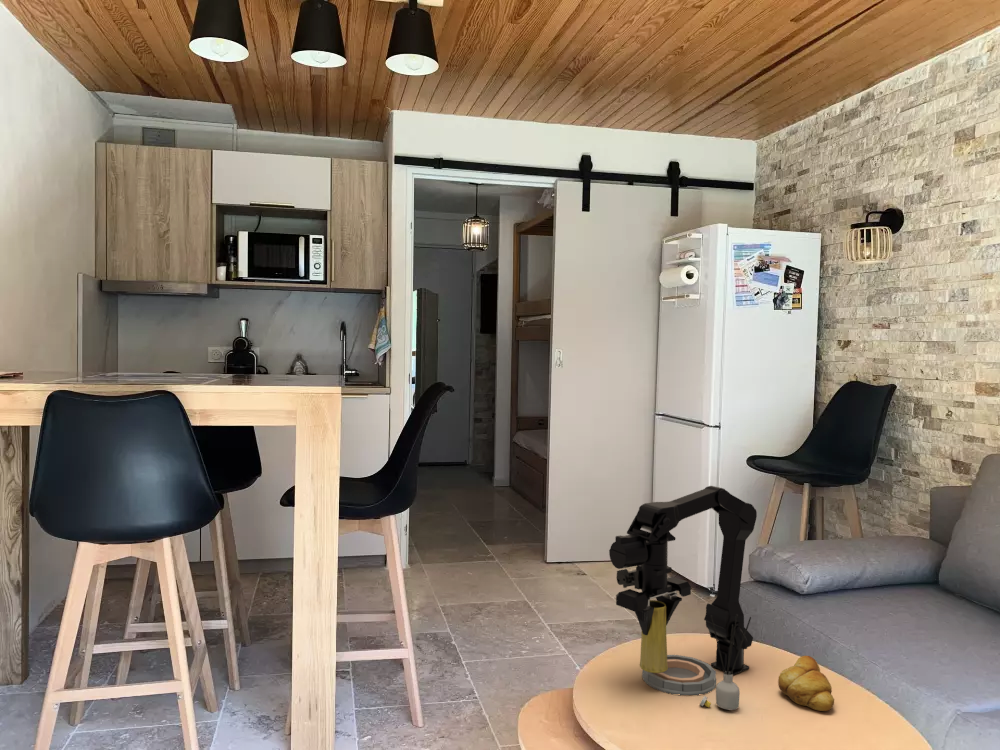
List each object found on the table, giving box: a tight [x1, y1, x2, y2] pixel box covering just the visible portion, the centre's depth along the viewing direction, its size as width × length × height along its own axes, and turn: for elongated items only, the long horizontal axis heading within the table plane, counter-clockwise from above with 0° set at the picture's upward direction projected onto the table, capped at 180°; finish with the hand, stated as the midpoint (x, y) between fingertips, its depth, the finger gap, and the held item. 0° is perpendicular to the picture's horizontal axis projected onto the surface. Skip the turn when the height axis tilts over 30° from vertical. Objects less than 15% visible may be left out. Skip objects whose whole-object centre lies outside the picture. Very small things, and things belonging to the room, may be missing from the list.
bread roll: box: [777, 655, 835, 712], centre depth 159 cm, size 13×10×8 cm
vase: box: [639, 599, 668, 673], centre depth 164 cm, size 6×6×14 cm
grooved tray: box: [641, 654, 717, 696], centre depth 169 cm, size 16×16×2 cm
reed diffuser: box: [699, 614, 752, 711], centre depth 154 cm, size 10×7×20 cm
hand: (653, 631), depth 164 cm, fingers closed on vase, 5 cm apart
